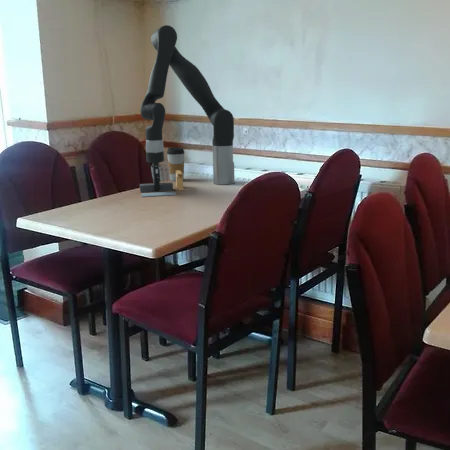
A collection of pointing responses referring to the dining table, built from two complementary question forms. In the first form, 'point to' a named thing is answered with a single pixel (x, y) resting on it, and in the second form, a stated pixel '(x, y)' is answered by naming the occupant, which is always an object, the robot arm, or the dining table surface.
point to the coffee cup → (175, 161)
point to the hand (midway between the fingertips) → (156, 189)
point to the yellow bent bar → (179, 180)
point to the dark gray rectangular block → (152, 189)
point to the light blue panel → (157, 194)
